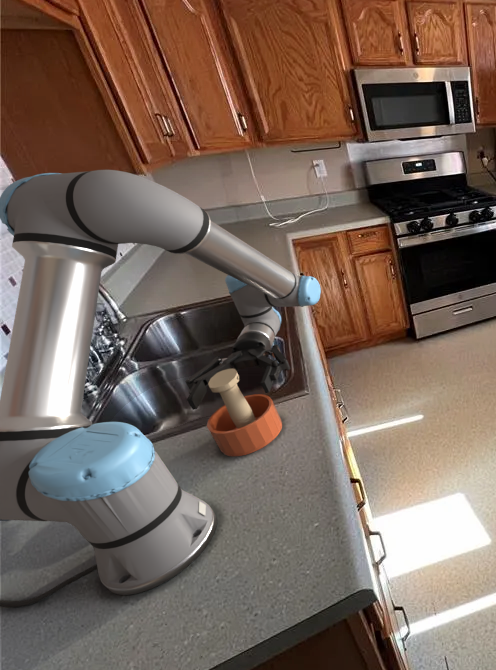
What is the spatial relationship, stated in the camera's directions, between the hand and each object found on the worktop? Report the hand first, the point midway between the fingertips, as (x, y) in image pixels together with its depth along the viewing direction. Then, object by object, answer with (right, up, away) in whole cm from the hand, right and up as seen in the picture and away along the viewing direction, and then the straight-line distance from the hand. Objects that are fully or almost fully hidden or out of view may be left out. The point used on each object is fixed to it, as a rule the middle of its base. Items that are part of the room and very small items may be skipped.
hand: (229, 396), depth 85 cm
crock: (+1, -10, +6) cm, 12 cm away
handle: (+1, -9, +6) cm, 11 cm away
